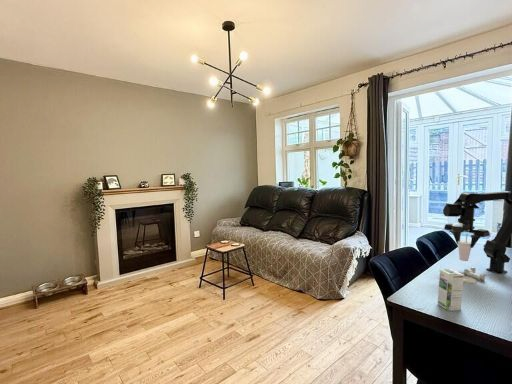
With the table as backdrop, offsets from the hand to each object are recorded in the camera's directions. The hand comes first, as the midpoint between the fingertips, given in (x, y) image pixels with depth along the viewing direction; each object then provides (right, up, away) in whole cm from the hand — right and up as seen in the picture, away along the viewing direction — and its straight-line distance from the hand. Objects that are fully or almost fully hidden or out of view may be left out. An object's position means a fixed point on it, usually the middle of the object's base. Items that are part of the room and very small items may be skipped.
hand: (464, 246), depth 144 cm
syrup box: (-34, -17, -36) cm, 52 cm away
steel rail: (0, -14, -8) cm, 16 cm away
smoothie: (0, -8, +1) cm, 8 cm away
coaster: (-8, -14, -11) cm, 20 cm away
